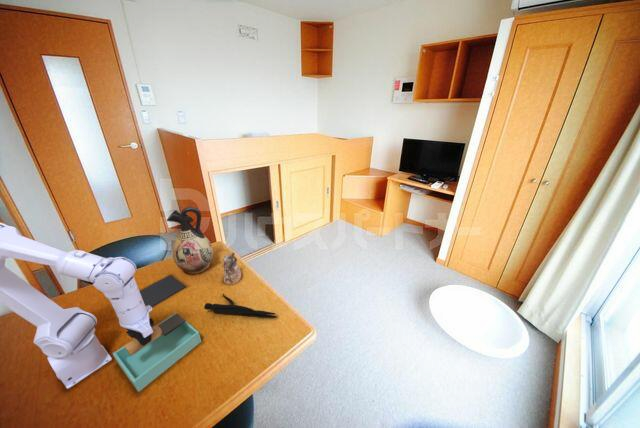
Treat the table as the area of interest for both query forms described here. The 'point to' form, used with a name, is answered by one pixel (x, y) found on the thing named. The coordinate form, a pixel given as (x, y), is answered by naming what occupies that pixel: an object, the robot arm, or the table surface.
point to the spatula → (156, 333)
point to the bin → (157, 355)
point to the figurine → (231, 269)
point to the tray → (161, 290)
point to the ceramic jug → (191, 243)
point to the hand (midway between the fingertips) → (144, 339)
